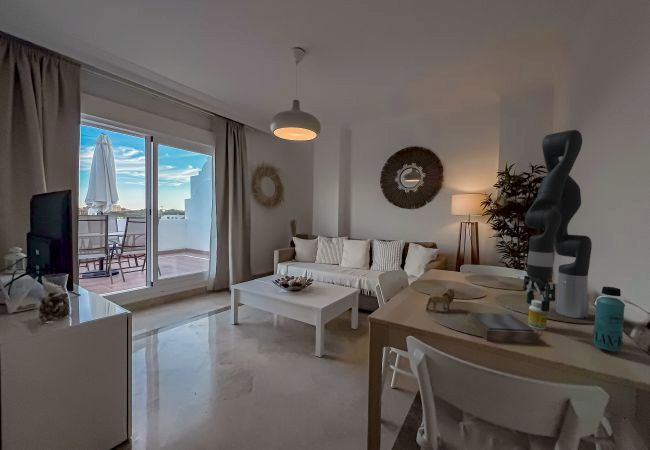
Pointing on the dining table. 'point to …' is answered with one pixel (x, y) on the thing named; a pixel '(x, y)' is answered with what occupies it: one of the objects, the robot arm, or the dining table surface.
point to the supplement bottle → (537, 315)
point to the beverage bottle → (609, 320)
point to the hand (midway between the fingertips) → (537, 307)
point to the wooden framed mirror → (502, 328)
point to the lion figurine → (441, 299)
